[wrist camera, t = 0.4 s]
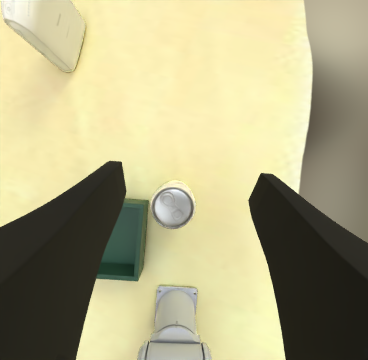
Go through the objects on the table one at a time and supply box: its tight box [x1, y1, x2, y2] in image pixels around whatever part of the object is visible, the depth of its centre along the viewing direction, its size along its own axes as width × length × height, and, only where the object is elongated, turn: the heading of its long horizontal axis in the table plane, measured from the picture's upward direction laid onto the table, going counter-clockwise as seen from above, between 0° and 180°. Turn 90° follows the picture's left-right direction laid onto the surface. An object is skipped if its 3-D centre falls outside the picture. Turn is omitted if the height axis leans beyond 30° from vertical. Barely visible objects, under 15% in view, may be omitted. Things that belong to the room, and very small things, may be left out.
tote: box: [96, 199, 148, 281], centre depth 33 cm, size 14×14×5 cm
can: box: [150, 181, 196, 229], centre depth 30 cm, size 6×6×12 cm
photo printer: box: [1, 0, 85, 72], centre depth 28 cm, size 10×4×12 cm, turn 164°
